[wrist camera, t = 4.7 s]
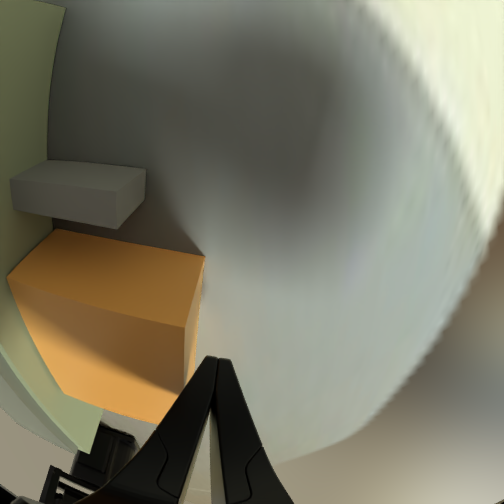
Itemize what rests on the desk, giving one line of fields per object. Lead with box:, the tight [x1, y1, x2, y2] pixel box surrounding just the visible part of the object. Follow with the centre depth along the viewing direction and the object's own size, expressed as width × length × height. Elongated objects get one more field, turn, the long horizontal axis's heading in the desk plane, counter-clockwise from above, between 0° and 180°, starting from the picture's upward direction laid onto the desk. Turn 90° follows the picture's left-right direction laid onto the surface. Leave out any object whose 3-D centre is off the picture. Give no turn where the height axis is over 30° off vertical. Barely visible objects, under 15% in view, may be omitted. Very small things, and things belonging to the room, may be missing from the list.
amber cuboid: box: [6, 228, 205, 424], centre depth 9 cm, size 7×6×4 cm
